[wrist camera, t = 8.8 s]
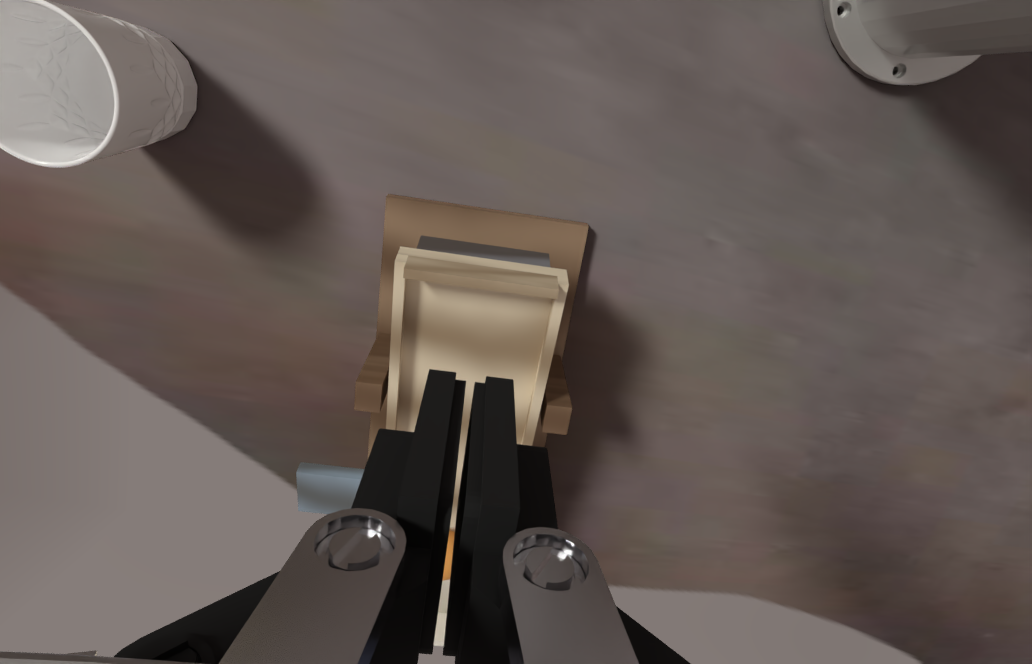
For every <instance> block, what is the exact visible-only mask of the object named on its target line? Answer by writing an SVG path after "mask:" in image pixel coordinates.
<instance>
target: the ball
mask: <svg viewBox="0 0 1032 664" xmlns="http://www.w3.org/2000/svg"><path fill="white" fill-rule="evenodd" d="M454 534H455V532H453V531H451V530H449V537H448V544H447V551H446V558H445V566H444V573H443V580H442V581H444V580H449V579H450V576H451V565H452V555H453V545H454Z"/></svg>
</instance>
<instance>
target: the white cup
mask: <svg viewBox="0 0 1032 664" xmlns="http://www.w3.org/2000/svg"><path fill="white" fill-rule="evenodd" d="M197 88H198V86H197V83H196V80H195V78H194V75H193V72H192V70H191V67H190V64H189V62H188V60H187V59H186V58H185V57H184V56H183V55H182V53H181V52H180V51H179V50H178V49H177V48H176V47H175V46H174V44H173V43H172V42H171V41H170V40H169V39H167V38H165V37H163V36H161V35H159V34H157V33H155V32H153V31H151V30H149V29H147V28H145V27H142V26H138V25H134V24H130V23H128V22H125V21H122V20H119V19H116V18H113V17H109V16H105V15H102V14H99V13H96V12H92V11H88V10H84V9H80V8H76V7H72V6H68V5H64V4H60V3H56V2H52V1H48V0H0V148H1V149H3V150H4V151H6V152H8V153H9V154H11V155H13V156H15V157H17V158H19V159H21V160H23V161H26V162H29V163H32V164H35V165H39V166H45V167H53V168H64V167H72V166H76V165H80V164H83V163H87V162H91V161H94V160H98V159H102V158H106V157H109V156H113V155H117V154H121V153H125V152H128V151H131V150H135V149H137V148H140V147H144V146H147V145H150V144H152V143H155V142H157V141H160V140H164V139H167V138H169V137H171V136H173V135H174V134H176V133H178V132H180V131H182V130H184V129H185V128H186V126H187V125H188V123H189V121H190V120H191V118H192V117H193V115H194V113H195V112H196V107H197Z"/></svg>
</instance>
